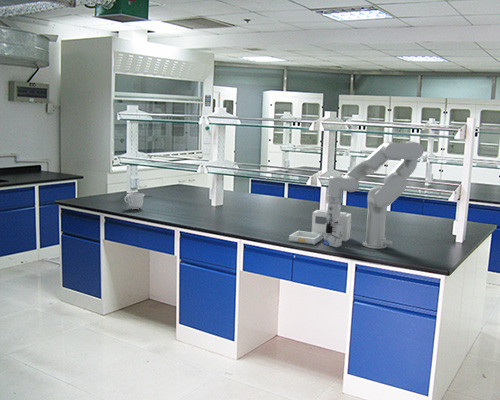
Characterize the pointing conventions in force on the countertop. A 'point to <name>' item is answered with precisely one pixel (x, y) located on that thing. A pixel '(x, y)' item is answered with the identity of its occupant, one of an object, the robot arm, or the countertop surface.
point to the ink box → (334, 235)
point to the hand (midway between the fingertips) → (331, 231)
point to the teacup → (135, 200)
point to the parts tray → (305, 237)
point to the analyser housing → (321, 218)
